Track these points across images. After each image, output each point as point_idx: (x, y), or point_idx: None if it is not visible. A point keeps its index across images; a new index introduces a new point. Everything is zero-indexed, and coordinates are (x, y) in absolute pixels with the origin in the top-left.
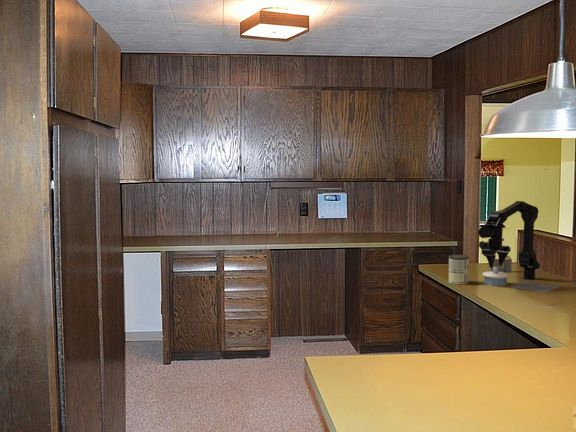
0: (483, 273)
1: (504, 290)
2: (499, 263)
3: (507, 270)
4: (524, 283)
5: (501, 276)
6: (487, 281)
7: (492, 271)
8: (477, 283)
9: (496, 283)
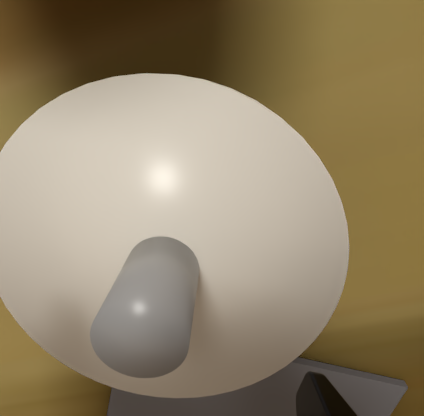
0: (65, 110)
1: (12, 318)
2: (316, 409)
3: None
4: None
5: (54, 351)
6: None
7: (326, 184)
8: (145, 12)
9: None
